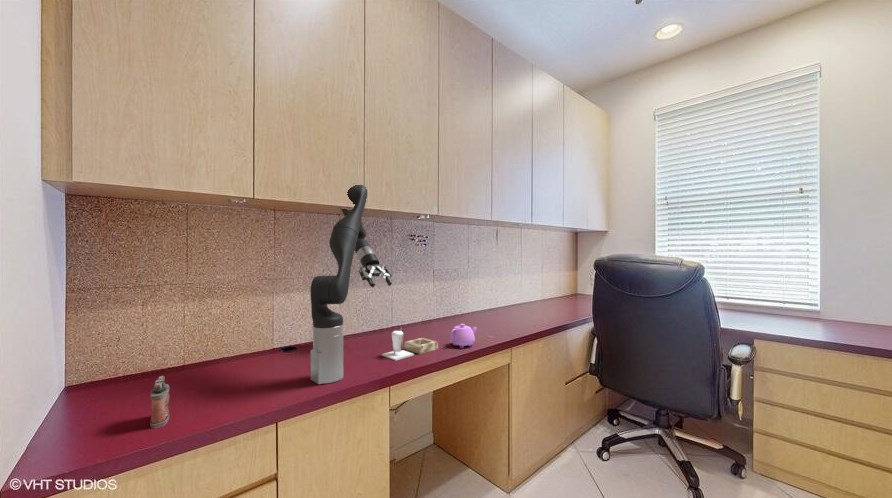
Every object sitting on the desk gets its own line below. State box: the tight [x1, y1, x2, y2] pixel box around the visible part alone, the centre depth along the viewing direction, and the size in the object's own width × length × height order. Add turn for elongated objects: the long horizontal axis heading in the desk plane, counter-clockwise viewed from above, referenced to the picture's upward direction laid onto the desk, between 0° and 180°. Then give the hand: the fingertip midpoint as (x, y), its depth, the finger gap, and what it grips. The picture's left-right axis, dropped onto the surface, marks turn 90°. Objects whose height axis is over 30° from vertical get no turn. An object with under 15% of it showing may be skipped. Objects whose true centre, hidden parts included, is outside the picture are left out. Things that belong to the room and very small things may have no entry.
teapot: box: [449, 323, 478, 349], centre depth 144 cm, size 10×15×9 cm
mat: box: [381, 349, 415, 362], centre depth 130 cm, size 9×9×1 cm
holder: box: [403, 337, 439, 355], centre depth 138 cm, size 10×10×3 cm
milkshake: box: [391, 326, 404, 355], centre depth 130 cm, size 4×5×10 cm
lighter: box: [149, 375, 170, 429], centre depth 80 cm, size 8×3×10 cm, turn 35°
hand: (382, 285), depth 141 cm, fingers open, 8 cm apart
